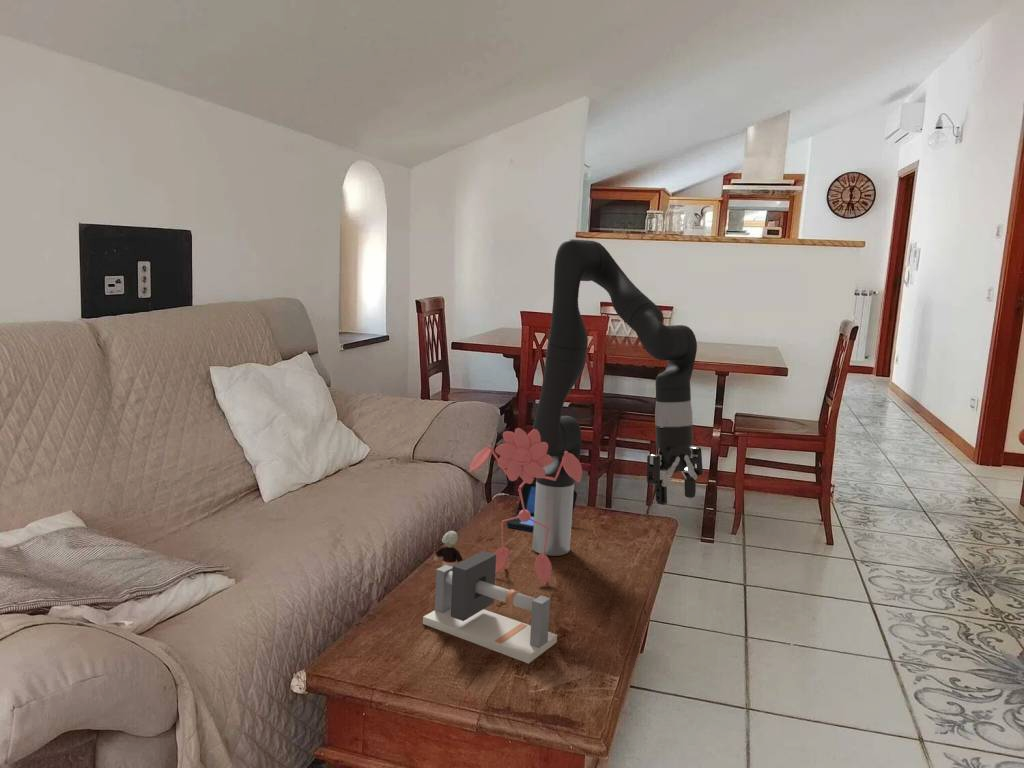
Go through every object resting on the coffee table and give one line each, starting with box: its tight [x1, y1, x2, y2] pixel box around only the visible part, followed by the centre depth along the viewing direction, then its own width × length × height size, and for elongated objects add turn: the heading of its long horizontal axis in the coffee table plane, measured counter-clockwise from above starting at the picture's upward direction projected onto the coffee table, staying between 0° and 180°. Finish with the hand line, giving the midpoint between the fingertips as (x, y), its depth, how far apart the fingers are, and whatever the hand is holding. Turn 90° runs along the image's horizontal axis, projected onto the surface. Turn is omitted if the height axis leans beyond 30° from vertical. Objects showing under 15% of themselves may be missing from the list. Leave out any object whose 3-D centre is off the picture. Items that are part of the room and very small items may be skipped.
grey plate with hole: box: [451, 550, 496, 621], centre depth 152 cm, size 10×3×10 cm, turn 147°
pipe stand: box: [422, 565, 558, 665], centre depth 150 cm, size 10×24×10 cm, turn 57°
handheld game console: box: [506, 482, 578, 532], centre depth 213 cm, size 16×13×9 cm
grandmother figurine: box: [433, 530, 464, 567], centre depth 169 cm, size 8×4×13 cm, turn 71°
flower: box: [469, 427, 583, 598], centre depth 171 cm, size 15×26×35 cm, turn 72°
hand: (676, 500), depth 164 cm, fingers open, 8 cm apart
